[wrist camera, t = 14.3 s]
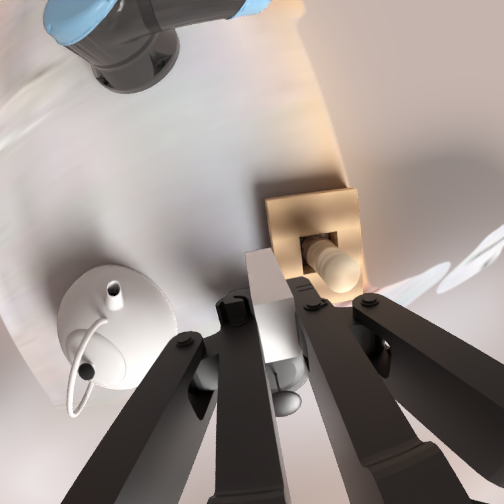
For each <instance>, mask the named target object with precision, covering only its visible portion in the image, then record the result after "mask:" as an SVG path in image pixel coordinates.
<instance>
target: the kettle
mask: <svg viewBox="0 0 504 504" xmlns="http://www.w3.org/2000/svg"><path fill="white" fill-rule="evenodd" d="M111 294H117V295H116V296H110V295H111ZM57 332H58V338H59V342H60V345H61V348H62V350H63V353H64V355H65V356H66V358H67V360H68V361H69V363H70V364H71V365H72V367H71V371H70V376H69V382H68V389H67V411H68V414H69V415H70V416H71V417H76V416H77V415H78V414H79V413H80V412H81V410H82V409H83V407H84V405H85V403H86V401H87V399H88V397H89V395H90V392H91V390H92V387H93V385H94V384H96V385H98V386H101V387H105V388H109V389H118V390H122V389H130V388H135V387H138V385H139V384H140V382H141V381H142V379H143V378H144V377H145V375H146V374H147V372H148V371H149V369H150V368H151V366H152V365H153V363H154V362H155V361H156V359H157V358H158V356H159V355H160V353H161V352H162V350H163V349H164V347H165V346H166V345H167V343H168V342H169V341H170V340H171V339H172V338H173V337H174V336H176V335H177V322H176V317H175V314H174V311H173V309H172V306H171V304H170V303H169V301H168V299H167V298H166V296H165V295H164V293H163V292H162V291H161V290H160V289H159V288H158V286H157V285H155V284H154V283H153V282H152V281H151V280H150V279H148V278H147V277H146V276H144V275H143V274H141V273H139V272H137V271H135V270H133V269H130V268H128V267H124V266H120V265H101V266H97V267H94V268H91V269H90V270H88V271H86V272H85V273H84V274H82V275H81V276H80V277H79V278H78V279H77V280H76V281H75V282H74V283H73V284H72V285H71V286H70V288H69V289H68V290H67V292H66V293H65V295H64V297H63V299H62V301H61V304H60V307H59V311H58V317H57ZM77 372H78V373H79V375H80V377H81V378H82V379H84V380H88V381H90V382H89V385H88V387H87V390H86V392H85V394H84V396H83V399H82V400H81V402H80V404H79V406H78V407H77V409H76V410H75V411H74V412H73V410H72V400H73V390H74V383H75V378H76V374H77Z"/></svg>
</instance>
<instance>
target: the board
mask: <svg viewBox="0 0 504 504" xmlns="http://www.w3.org/2000/svg"><path fill="white" fill-rule="evenodd" d="M264 202H265V209H266V215H267V222H268V229H269V236H270V243H271V249H272V252H273V254H274V256H275V258H276V260H277V262H278V264H279V267H280V269H281V271H282V273H283V275H284V277H285V279H290V278H295V277H300V276H303V277H305V278H308V279H309V280H310V282H311V283H312V285H313V286H314V288H315V289H316V291H317V292H318V294H319V295H320V297H321V298H325V299H328V300H329V301H330V302H331V303H332V304H334V303H338V302H343V301H347V300H352V299H354V298H355V297H357V296H359V295H362V294H363V274H362V246H361V229H360V215H359V203H358V193H357V189H354V188H339V189H331V190H323V191H315V192H308V193H300V194H293V195H286V196H279V197H272V198H266V199H264ZM328 232H329V233H330V241H331V242H332V243H333V244H334V245H335V246H336V247H338V248H339V249H341V250H342V251H343V252H345V253H346V254H347V255H349V256H350V257H351V258H353V259H354V260H355V261H356V262H357V263H358V265H359V267H360V277H359V280H358V282H357V284H356V285H355V286H354V287H353V288H352V289H351V290H349V291H347V292H343V293H337V292H334V291H332V290H331V289H330V288H329V287H328V286H327V285H326V283H325V282H324V281H323V280H322V278H321V277H320V276H319V275H318V274H317V272H316V271H315V270H314V269H313V268H312V267H311V266H310V265H305V266H302V257H301V248H300V239H299V237H303V236H309V235H316V234H322V233H328Z"/></svg>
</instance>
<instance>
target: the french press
mask: <svg viewBox="0 0 504 504" xmlns="http://www.w3.org/2000/svg"><path fill="white" fill-rule="evenodd" d="M300 349H301V348H300ZM266 368H267V373H268V378H269V384H270V389H271V395H272V401H273V406H274V412H275V417H284V416H288V415H291V414H293V413H294V412H296V411H297V410H298V409H299V407H300V406H301V402H302V401H301V397H300V396H299V395H298V394H297V393H295V391H296V390H298V389H299V388H300V387H301V386H302V385H303V384H304V383H305V382H306V381H307V379H308V376H307V377H305V372H304V363H303V355H302V351H301V356H298V357H293V358H289V359H284V360H279V361H274V362H269V363H266Z"/></svg>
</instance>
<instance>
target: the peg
mask: <svg viewBox="0 0 504 504" xmlns="http://www.w3.org/2000/svg"><path fill="white" fill-rule="evenodd" d="M302 252H303V254H304V255H305V258H306V261H307V263H308V264H309V265H310V266H311V267H312V268H313V269H314V270H315V271H316V272H317V274H318V275H319V276H320V277H321V278H322V280H323V281H324V282H325V283H326V285H327V286H328V287H329V288H330V289H331V290H332V291H334V292H337V293H343V292H347V291H349V290H351V289H352V288H353V287H354V286H355V285H356V284H357V282H358V280H359V277H360V267H359V265H358V263H357V262H356V261H355V260H354V259H353V258H351V257H350V256H349V255H347V254H346V253H345V252H343V251H342V250H341V249H339V248H338V247H336V246H335V245H334V244H333V243H332V242H331V241H330V240H328V239H326V238H321V237H320V236H317V235H311V236H308V237H307V238H306V239H305V240H304V241H303V243H302Z"/></svg>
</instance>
